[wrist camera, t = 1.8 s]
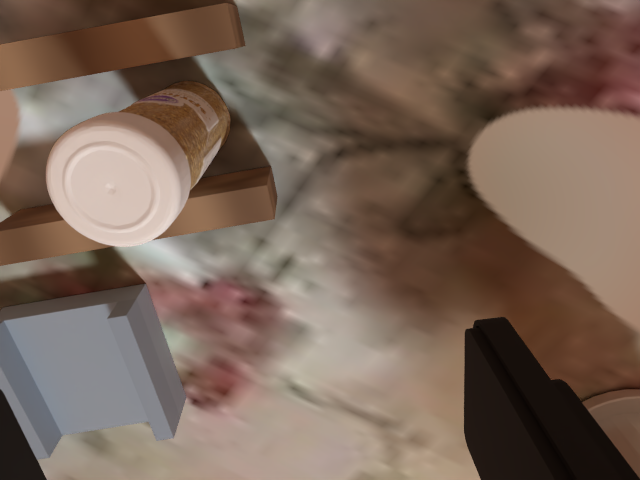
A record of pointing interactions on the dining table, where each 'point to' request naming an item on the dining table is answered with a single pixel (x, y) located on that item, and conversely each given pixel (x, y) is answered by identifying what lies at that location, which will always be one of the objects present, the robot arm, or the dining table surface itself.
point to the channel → (118, 53)
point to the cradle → (88, 366)
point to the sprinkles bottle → (136, 164)
